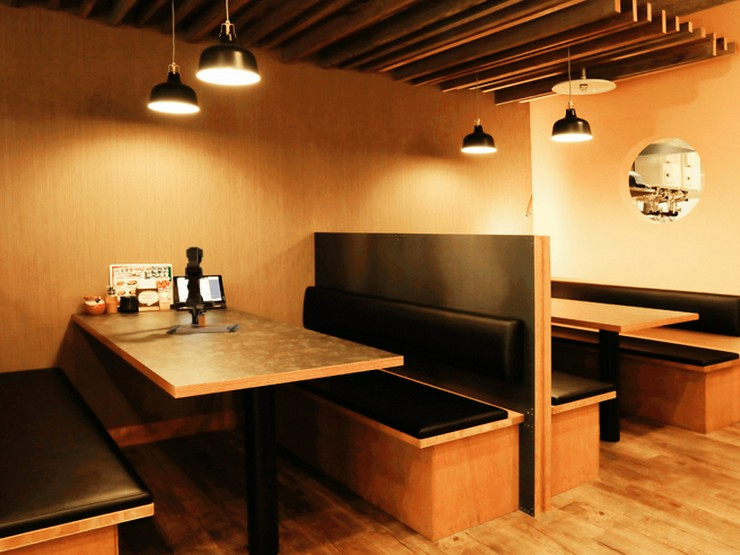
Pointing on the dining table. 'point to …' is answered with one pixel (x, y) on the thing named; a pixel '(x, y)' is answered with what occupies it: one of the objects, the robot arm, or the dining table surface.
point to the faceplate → (204, 328)
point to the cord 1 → (173, 329)
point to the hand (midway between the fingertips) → (195, 322)
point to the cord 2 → (235, 328)
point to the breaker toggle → (202, 320)
